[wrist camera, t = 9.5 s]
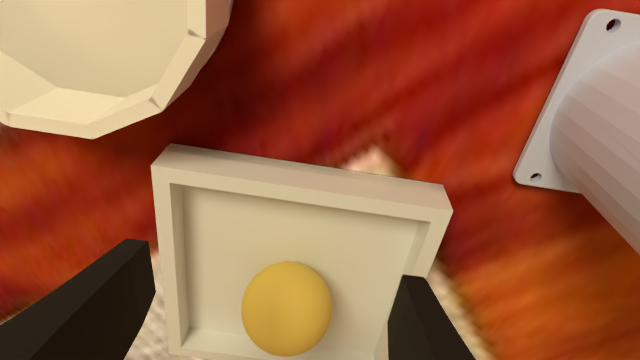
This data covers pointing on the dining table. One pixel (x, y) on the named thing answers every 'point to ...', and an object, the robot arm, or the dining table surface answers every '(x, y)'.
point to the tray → (286, 246)
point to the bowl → (101, 60)
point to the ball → (286, 309)
